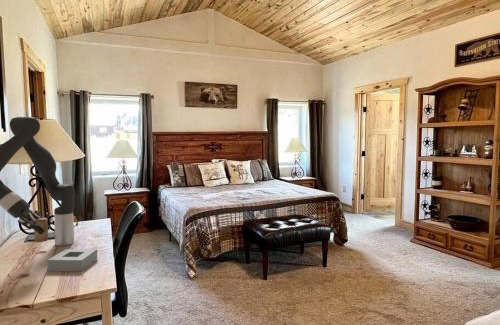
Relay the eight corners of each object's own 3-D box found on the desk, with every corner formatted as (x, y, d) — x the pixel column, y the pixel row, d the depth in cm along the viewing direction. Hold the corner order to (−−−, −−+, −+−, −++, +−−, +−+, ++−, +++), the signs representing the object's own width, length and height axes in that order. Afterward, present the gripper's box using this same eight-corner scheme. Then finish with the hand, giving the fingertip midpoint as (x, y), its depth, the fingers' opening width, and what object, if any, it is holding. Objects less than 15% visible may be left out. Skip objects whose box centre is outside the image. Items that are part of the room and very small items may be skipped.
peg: (39, 238, 146) (38, 217, 145) (50, 238, 146) (49, 217, 145) (32, 242, 141) (31, 220, 140) (43, 242, 141) (42, 220, 140)
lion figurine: (60, 229, 212) (60, 215, 212) (55, 228, 215) (54, 214, 214) (80, 224, 226) (80, 211, 225) (75, 223, 228) (75, 210, 227)
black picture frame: (22, 240, 183) (27, 233, 196) (23, 243, 183) (27, 236, 197) (63, 236, 192) (65, 230, 206) (63, 239, 192) (65, 233, 206)
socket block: (66, 259, 158) (66, 248, 158) (97, 259, 159) (97, 249, 158) (47, 271, 143) (47, 259, 143) (81, 271, 144) (81, 260, 143)
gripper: (12, 201, 134) (45, 229, 137) (29, 195, 148) (58, 220, 151) (-2, 214, 133) (31, 242, 136) (16, 207, 147) (46, 232, 150)
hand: (45, 231), depth 143 cm, fingers closed on peg, 5 cm apart
